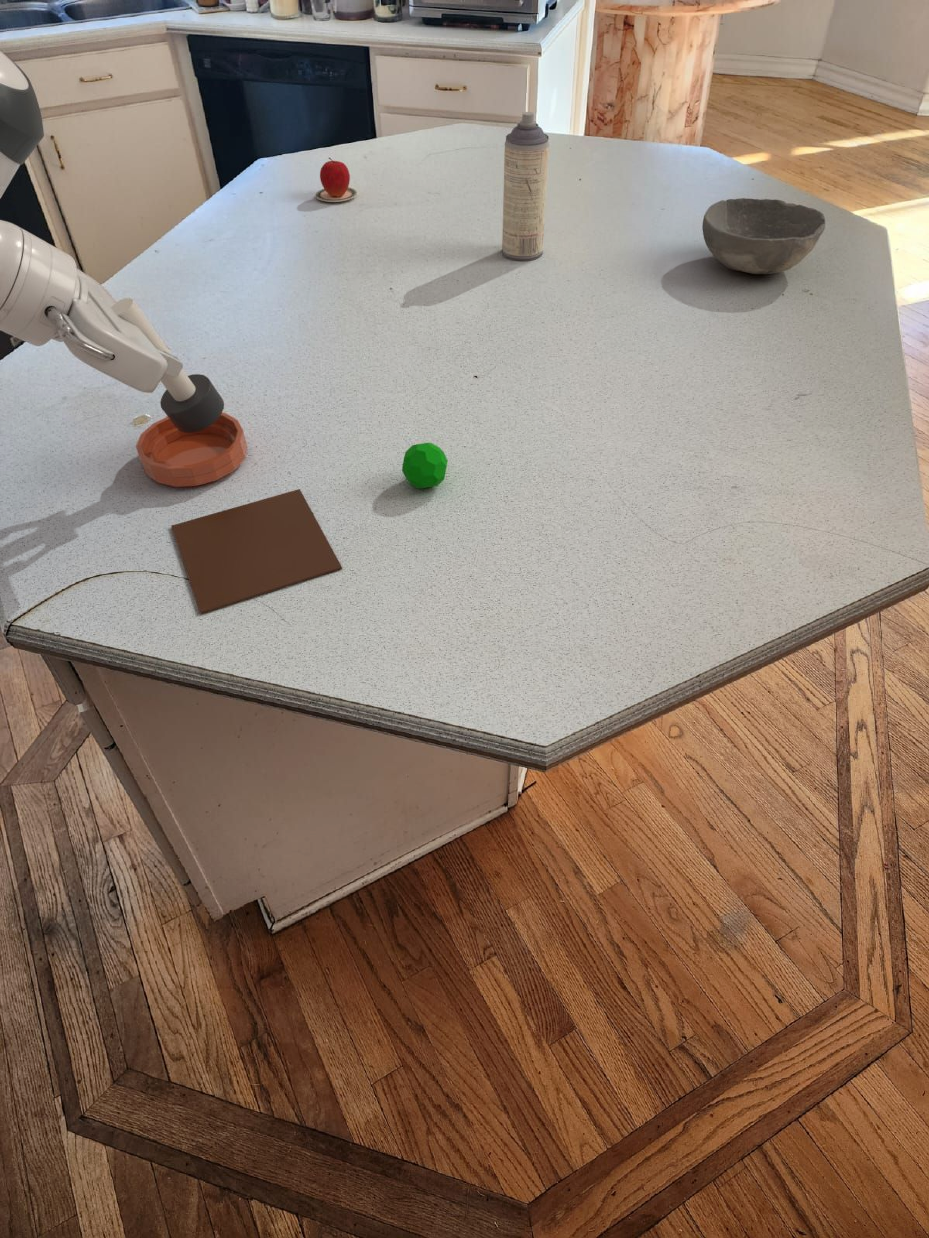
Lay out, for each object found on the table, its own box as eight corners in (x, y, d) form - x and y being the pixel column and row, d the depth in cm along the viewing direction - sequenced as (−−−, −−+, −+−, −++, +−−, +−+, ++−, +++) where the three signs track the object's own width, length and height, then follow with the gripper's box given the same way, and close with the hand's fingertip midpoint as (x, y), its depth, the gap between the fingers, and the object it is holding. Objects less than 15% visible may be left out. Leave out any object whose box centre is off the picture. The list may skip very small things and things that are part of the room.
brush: (179, 441, 83) (95, 336, 71) (172, 410, 86) (91, 304, 75) (228, 417, 83) (152, 308, 71) (219, 387, 86) (145, 278, 75)
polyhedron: (455, 476, 85) (454, 440, 81) (437, 501, 82) (435, 465, 78) (415, 466, 86) (412, 430, 83) (395, 490, 83) (392, 454, 80)
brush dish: (155, 502, 82) (146, 479, 80) (137, 447, 90) (129, 425, 87) (259, 473, 86) (253, 451, 84) (234, 422, 93) (228, 401, 91)
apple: (323, 188, 150) (318, 151, 145) (362, 191, 148) (358, 153, 144) (310, 203, 144) (304, 164, 139) (350, 205, 143) (345, 167, 138)
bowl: (671, 258, 125) (681, 206, 119) (752, 237, 130) (765, 186, 124) (748, 300, 114) (763, 245, 108) (833, 276, 119) (851, 222, 114)
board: (200, 614, 71) (200, 612, 71) (171, 527, 79) (171, 525, 79) (342, 569, 75) (341, 566, 75) (300, 491, 83) (299, 488, 83)
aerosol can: (551, 253, 127) (560, 113, 112) (522, 264, 124) (528, 123, 109) (521, 241, 130) (527, 105, 116) (493, 252, 127) (495, 113, 113)
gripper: (81, 303, 62) (224, 376, 72) (22, 225, 73) (153, 299, 84) (48, 369, 63) (192, 432, 74) (-5, 283, 75) (127, 348, 86)
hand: (171, 361), depth 79 cm, fingers closed on brush, 2 cm apart
